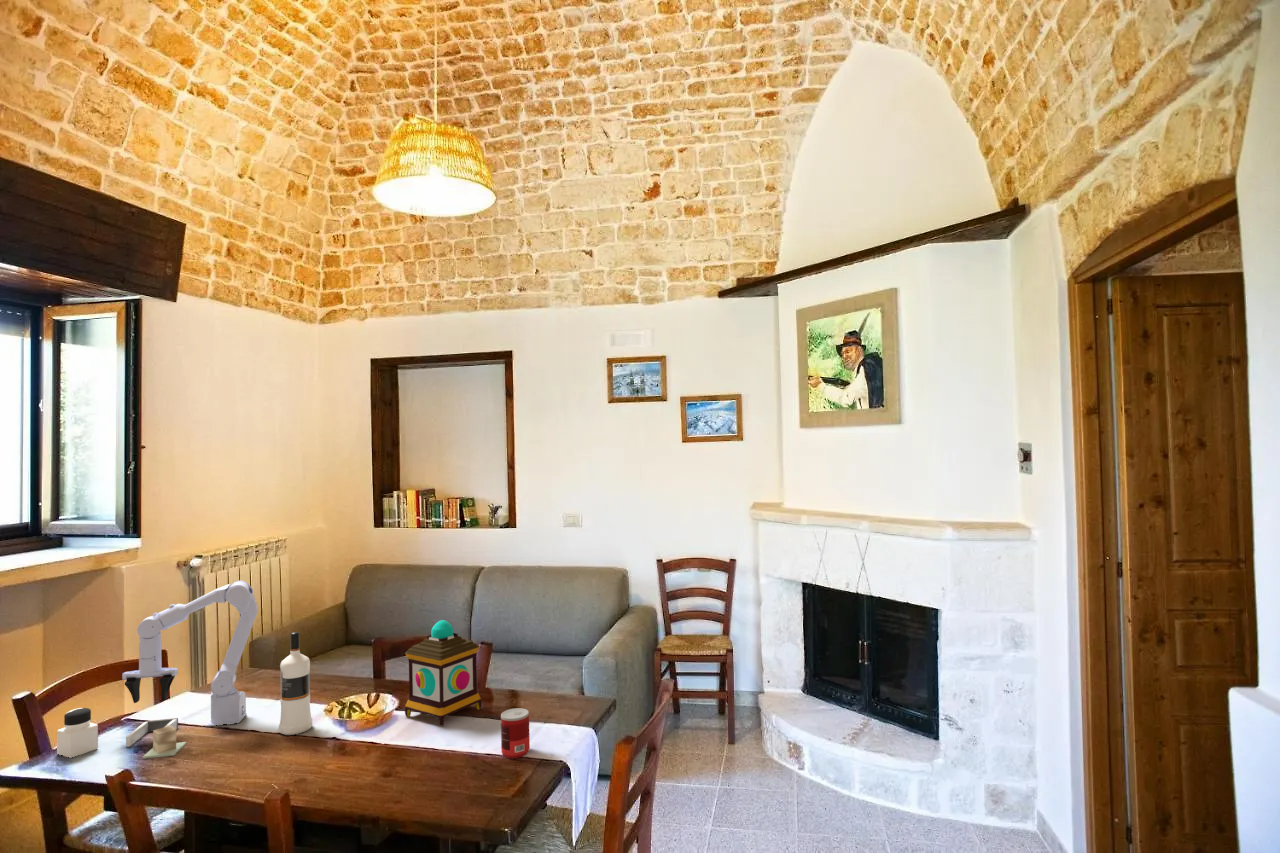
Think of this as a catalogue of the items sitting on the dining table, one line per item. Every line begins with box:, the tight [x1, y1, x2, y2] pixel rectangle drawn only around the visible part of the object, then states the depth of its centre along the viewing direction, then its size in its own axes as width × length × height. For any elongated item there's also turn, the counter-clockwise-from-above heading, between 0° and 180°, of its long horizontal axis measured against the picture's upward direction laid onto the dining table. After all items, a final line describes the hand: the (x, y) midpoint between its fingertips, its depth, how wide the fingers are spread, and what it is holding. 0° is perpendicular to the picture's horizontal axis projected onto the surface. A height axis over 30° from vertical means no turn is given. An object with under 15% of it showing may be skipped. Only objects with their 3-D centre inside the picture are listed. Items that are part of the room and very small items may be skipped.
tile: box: [142, 741, 187, 760], centre depth 202 cm, size 8×8×1 cm
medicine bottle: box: [56, 707, 99, 759], centre depth 204 cm, size 7×7×12 cm
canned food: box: [500, 707, 531, 759], centre depth 196 cm, size 8×8×11 cm
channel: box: [125, 717, 179, 748], centre depth 213 cm, size 9×12×3 cm
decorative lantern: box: [404, 619, 482, 727], centre depth 227 cm, size 20×20×30 cm
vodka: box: [278, 631, 313, 736], centre depth 216 cm, size 9×9×30 cm
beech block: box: [152, 726, 177, 754], centre depth 203 cm, size 4×4×6 cm
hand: (150, 700), depth 216 cm, fingers open, 7 cm apart
